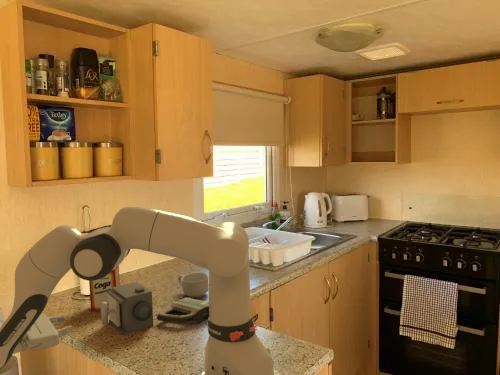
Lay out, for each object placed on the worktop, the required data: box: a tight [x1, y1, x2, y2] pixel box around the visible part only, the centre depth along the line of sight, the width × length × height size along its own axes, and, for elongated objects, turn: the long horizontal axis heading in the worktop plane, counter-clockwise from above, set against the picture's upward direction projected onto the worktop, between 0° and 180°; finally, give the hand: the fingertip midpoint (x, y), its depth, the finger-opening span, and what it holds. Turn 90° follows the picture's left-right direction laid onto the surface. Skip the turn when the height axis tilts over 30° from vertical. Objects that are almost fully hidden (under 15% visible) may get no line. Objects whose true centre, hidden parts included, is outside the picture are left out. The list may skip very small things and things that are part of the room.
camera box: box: [107, 281, 154, 336], centre depth 138 cm, size 15×11×13 cm
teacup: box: [177, 272, 209, 299], centre depth 166 cm, size 14×11×8 cm
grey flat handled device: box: [156, 296, 209, 325], centre depth 142 cm, size 16×20×5 cm
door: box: [100, 294, 120, 327], centre depth 137 cm, size 8×5×9 cm
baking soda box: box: [88, 265, 121, 313], centre depth 154 cm, size 10×6×16 cm
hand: (67, 323), depth 127 cm, fingers open, 8 cm apart
